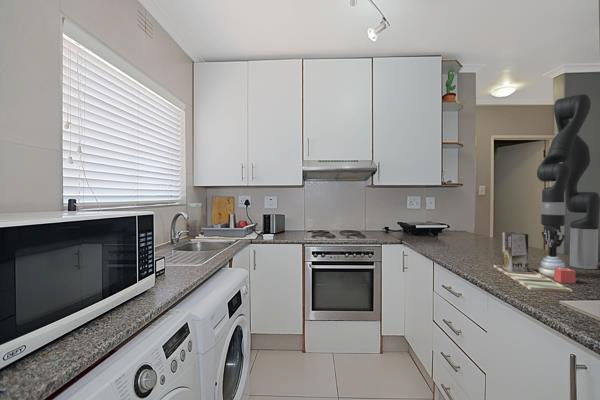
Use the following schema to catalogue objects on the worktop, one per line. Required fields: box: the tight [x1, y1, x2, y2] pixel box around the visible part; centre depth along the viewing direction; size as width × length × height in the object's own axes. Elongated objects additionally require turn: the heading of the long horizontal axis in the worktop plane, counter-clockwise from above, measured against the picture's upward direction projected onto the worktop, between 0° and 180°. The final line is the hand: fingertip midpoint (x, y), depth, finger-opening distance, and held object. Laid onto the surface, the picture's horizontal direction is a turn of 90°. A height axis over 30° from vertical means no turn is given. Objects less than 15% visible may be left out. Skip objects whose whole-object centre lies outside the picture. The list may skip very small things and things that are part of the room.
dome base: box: [537, 265, 554, 278], centre depth 129 cm, size 9×9×2 cm
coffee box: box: [502, 231, 529, 272], centre depth 135 cm, size 9×6×16 cm
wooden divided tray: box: [493, 264, 573, 293], centre depth 124 cm, size 35×12×1 cm, turn 166°
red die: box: [553, 267, 577, 284], centre depth 118 cm, size 4×4×5 cm
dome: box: [539, 255, 566, 270], centre depth 129 cm, size 8×8×5 cm
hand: (552, 256), depth 128 cm, fingers closed
